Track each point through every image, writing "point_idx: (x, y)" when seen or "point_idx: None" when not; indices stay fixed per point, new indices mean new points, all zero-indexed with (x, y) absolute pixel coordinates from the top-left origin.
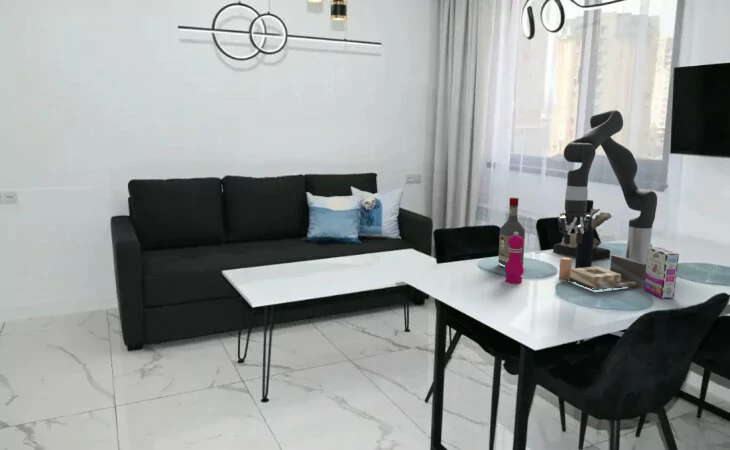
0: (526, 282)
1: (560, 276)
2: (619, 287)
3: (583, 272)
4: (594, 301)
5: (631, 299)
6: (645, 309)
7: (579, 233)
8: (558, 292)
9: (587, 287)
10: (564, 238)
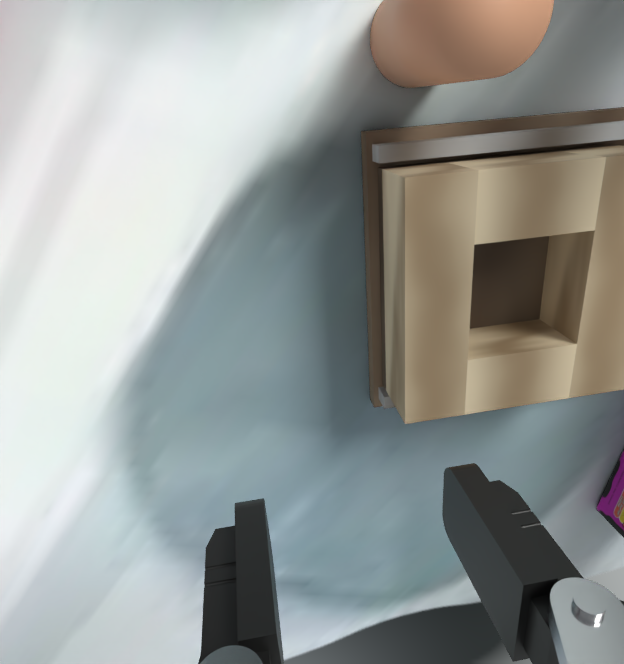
0: (19, 69)
1: (375, 39)
2: None
3: (427, 302)
4: (276, 506)
5: None
6: (417, 600)
7: (527, 630)
8: (163, 353)
9: (373, 349)
10: (205, 601)
